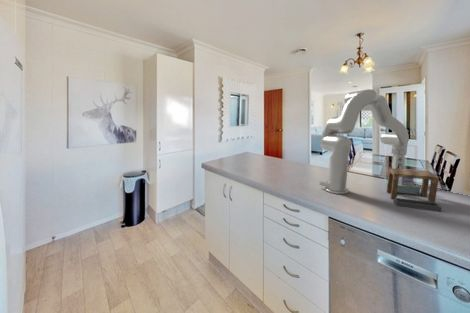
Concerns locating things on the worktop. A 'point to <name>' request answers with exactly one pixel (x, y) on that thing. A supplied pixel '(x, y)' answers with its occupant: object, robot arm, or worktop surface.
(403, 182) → the medicine box
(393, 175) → the tunnel
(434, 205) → the dark grey flat slab
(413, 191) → the grey-green low block
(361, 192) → the worktop surface
